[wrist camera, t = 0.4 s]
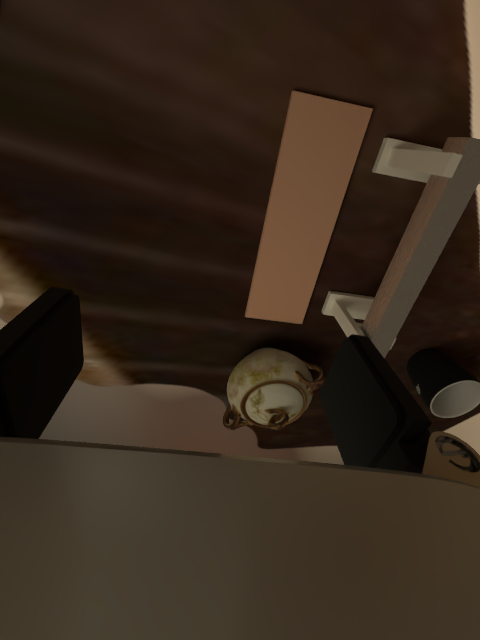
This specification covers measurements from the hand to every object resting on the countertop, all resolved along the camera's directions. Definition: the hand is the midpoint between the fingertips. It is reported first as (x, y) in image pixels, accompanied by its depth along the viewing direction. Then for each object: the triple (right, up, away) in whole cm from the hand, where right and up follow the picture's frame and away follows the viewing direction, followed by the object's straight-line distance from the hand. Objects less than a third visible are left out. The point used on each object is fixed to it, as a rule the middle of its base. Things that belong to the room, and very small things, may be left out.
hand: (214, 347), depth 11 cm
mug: (+38, -8, +49) cm, 63 cm away
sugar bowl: (+6, -7, +47) cm, 48 cm away
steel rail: (+22, +8, +27) cm, 36 cm away
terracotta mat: (+9, +14, +33) cm, 37 cm away
